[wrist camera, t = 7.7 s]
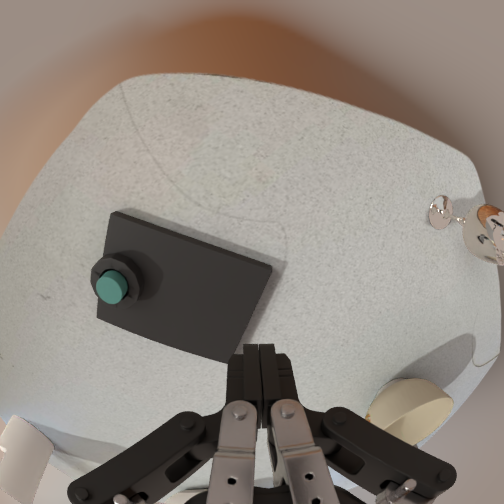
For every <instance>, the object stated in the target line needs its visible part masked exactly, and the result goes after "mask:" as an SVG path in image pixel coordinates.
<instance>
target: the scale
mask: <svg viewBox="0 0 504 504" xmlns="http://www.w3.org/2000/svg"><path fill="white" fill-rule="evenodd" d="M110 270H114V271H117V272H119V273H121V274H122V275H123V276H124V277H125V279H126V281H127V284H128V289H127V292H126V294H125V295H124V296H123V298H122V299H121V301H120V302H118V303H116V304H109V303H107V302H105V301H103V300H102V299H101V298H100V296H99V295H98V293H97V290H96V284H97V281H98V280H99V279H100V278H101V277H102V276H103V275H104V274H105V273H106V272H107V271H110ZM271 272H272V268H271V265H268V264H265V263H262V262H260V261H257V260H254V259H251V258H248V257H245V256H242V255H239V254H236V253H234V252H231V251H228V250H225V249H222V248H219V247H216V246H214V245H211V244H208V243H205V242H202V241H199V240H196V239H194V238H191V237H188V236H185V235H182V234H179V233H177V232H174V231H171V230H168V229H165V228H162V227H160V226H157V225H154V224H151V223H148V222H146V221H143V220H140V219H137V218H134V217H131V216H129V215H126V214H123V213H120V212H117V211H115V212H113V213H111V214H110V219H109V224H108V230H107V235H106V241H105V247H104V253H103V257H102V258H101V259H100V260H99V261H98V262H97V263H96V264H95V265H94V266H93V268H92V270H91V280H90V281H91V284H92V287H93V290H94V292H95V294H96V295H97V297H98V305H97V318H99V319H101V320H103V321H105V322H108V323H110V324H112V325H115V326H117V327H120V328H122V329H125V330H127V331H130V332H132V333H135V334H137V335H140V336H142V337H145V338H148V339H150V340H153V341H156V342H159V343H162V344H164V345H167V346H170V347H173V348H176V349H179V350H182V351H185V352H189V353H192V354H195V355H198V356H202V357H205V358H208V359H212V360H215V361H219V362H222V363H226V364H228V361H229V359H230V358H231V356H232V355H233V354H234V352H235V350H236V348H237V346H238V344H239V342H240V339H241V337H242V335H243V333H244V331H245V329H246V327H247V325H248V322H249V320H250V318H251V316H252V314H253V312H254V310H255V307H256V305H257V303H258V301H259V299H260V296H261V294H262V292H263V290H264V288H265V285H266V283H267V281H268V279H269V277H270V274H271Z"/></svg>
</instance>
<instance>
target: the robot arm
mask: <svg viewBox="0 0 504 504" xmlns="http://www.w3.org/2000/svg"><path fill="white" fill-rule="evenodd" d="M261 423H262V428H267V434H268V437H267V445H268V450H269V456H270V461H271V466H272V472H273V484H274V488H269V489H268V488H261V487H255V486H254V470H255V447H256V441H257V432H258V429H260V428H261ZM210 458H213V462H212V469H211V475H210V481H209V488H208V490H206V491H203V492H201V493H198V494H196V495H195V496H193V497H191V498H190V499H189V500H187V501H186V502H185V503H184V504H366V503H365V502H363V501H361V500H360V499H359V498H357V497H356V496H354V495H353V494H351V493H350V492H348V491H347V490H345V489H343V488H341V487H339V486H336V485H333V481H332V478H331V475H330V472H329V469H328V466H329V467H331V468H332V469H334V470H335V471H337V472H338V473H340V474H341V475H343V476H344V477H346V478H348V479H349V480H351V481H352V482H354V483H355V484H357V485H359V486H361V487H362V488H364V489H366V490H367V491H369V492H371V493H372V494H374V495H376V504H432V503H433V502H434V500H435V498H436V497H437V496H439V495H440V494H442V493H443V492H445V491H446V490H448V489H449V488H450V487H452V486H453V484H454V483H455V481H456V477H457V473H456V470H455V468H454V467H453V466H452V465H451V464H449V463H447V462H444V461H442V460H440V459H438V458H436V457H434V456H432V455H430V454H428V453H425V452H424V451H422V450H420V449H418V448H416V447H414V446H412V445H410V444H408V443H406V442H404V441H402V440H401V439H399V438H397V437H395V436H393V435H391V434H390V433H388V432H386V431H384V430H383V429H381V428H379V427H377V426H376V425H374V424H372V423H370V422H369V421H367V420H365V419H364V418H362V417H360V416H359V415H357V414H355V413H354V412H352V411H350V410H349V409H347V408H344V407H334V408H331V409H329V410H328V411H327V412H326V413H324V412H317V411H312V410H309V409H307V408H305V407H304V406H303V405H302V404H301V403H300V401H299V399H298V394H297V389H296V385H295V380H294V376H293V370H292V366H291V361H290V359H289V358H288V357H287V356H286V354H285V353H282V354H276V353H275V347H274V344H259V350H258V344H243V354H233V355H232V356H231V358H230V359H229V361H228V371H227V390H226V403H225V406H224V407H223V408H222V410H220V411H219V412H217V413H215V414H212V415H208V416H203V417H202V416H200V415H199V414H197V413H195V412H190V411H186V412H181V413H179V414H177V415H175V416H174V417H173V418H171V419H170V420H169V421H167V422H166V423H164V424H163V425H162V426H160V427H159V428H157V429H156V430H155V431H153V432H152V433H150V434H149V435H147V436H146V437H144V438H143V439H142V440H140V441H139V442H137V443H136V444H134V445H133V446H131V447H130V448H128V449H126V450H125V451H123V452H122V453H120V454H119V455H117V456H116V457H114V458H112V459H111V460H109V461H107V462H106V463H104V464H103V465H101V466H99V467H98V468H96V469H94V470H92V471H91V472H89V473H87V474H85V475H84V476H82V477H80V478H78V479H77V480H75V481H73V482H72V483H71V484H70V485H69V487H68V490H67V495H68V498H69V500H70V502H71V503H72V504H154V503H156V502H157V501H158V500H160V499H161V498H163V497H164V496H165V495H167V494H168V493H169V492H171V491H172V490H173V489H175V488H176V487H177V486H178V485H180V484H181V483H182V482H184V481H185V480H186V479H187V478H189V477H190V476H191V475H192V474H193V473H195V472H196V471H197V470H198V469H199V468H201V467H202V466H203V465H204V464H205V463H206V462H207V461H209V459H210ZM327 465H328V466H327Z"/></svg>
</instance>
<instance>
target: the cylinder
mask: <svg viewBox="0 0 504 504" xmlns="http://www.w3.org/2000/svg"><path fill="white" fill-rule="evenodd" d="M0 449H1V450H2V451H3V452H4V453H5V454H4V456H3V458H2V460H1V462H0V489H2V490H3V491H4V492H6V493H7V494H8V495H10V496H11V497H13V498H14V499H16V500H17V501H19V502H20V503H22V504H32V502H33V500H34V497H35V494H36V491H37V489H38V486H39V483H40V480H41V478H42V476H43V473H44V471H45V468H46V466H47V463H48V461H49V459H50V456H51V454H52V452H53V449H54V445H53V444H52V442H51V441H50V440H49V439H48V438H47V437H46V436H45V435H44V434H42V433H41V432H40V431H39V430H38V429H36V428H35V427H34V426H32V425H31V424H30V423H28V422H27V421H25V420H24V419H22V418H20V417H19V416H16V415H12V417H11V419H10V420H9V422H8V424H7V426H6V427H5V429H4V431H3V433H2V434H1V436H0Z"/></svg>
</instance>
